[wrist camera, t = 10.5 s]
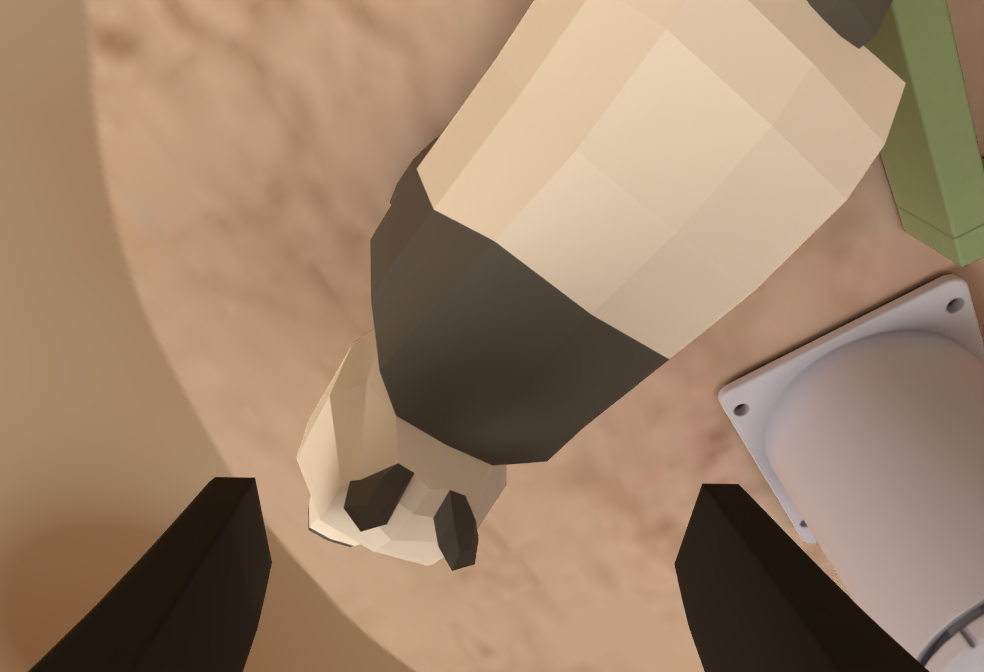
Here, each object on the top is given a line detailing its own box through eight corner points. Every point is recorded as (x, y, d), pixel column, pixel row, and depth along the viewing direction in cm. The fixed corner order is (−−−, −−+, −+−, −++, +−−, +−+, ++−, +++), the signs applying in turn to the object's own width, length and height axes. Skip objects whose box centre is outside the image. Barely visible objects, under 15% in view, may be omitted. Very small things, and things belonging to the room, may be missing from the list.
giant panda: (609, -159, 13) (866, -351, 5) (776, 17, 15) (1165, 98, 7) (288, 327, 19) (157, 612, 11) (437, 407, 21) (423, 699, 13)
